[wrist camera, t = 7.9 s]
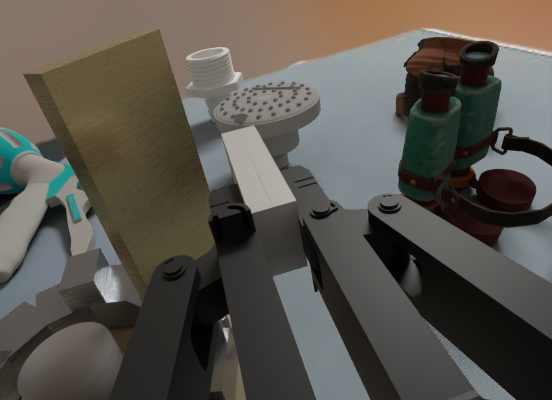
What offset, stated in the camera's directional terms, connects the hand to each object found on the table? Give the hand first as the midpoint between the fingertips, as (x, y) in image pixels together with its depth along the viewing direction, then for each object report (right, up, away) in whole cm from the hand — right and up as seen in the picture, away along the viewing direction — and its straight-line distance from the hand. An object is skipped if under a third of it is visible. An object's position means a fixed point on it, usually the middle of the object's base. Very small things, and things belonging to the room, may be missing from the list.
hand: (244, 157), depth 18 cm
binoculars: (+15, -3, +10) cm, 18 cm away
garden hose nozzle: (-22, -4, +21) cm, 30 cm away
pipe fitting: (-5, +8, +33) cm, 34 cm away
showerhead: (+1, +1, +20) cm, 20 cm away
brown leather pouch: (+20, +7, +24) cm, 32 cm away
